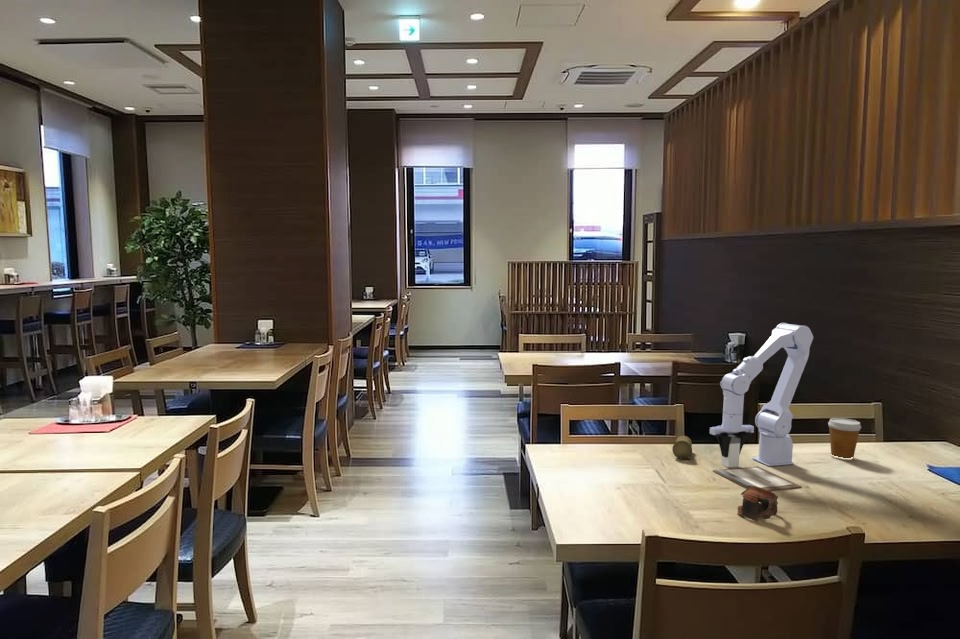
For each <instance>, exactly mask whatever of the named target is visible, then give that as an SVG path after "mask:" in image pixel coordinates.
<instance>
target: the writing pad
mask: <svg viewBox="0 0 960 639" xmlns="http://www.w3.org/2000/svg"><path fill="white" fill-rule="evenodd" d="M712 472H713V473H715V474H717V475H719V476H721V477H723V479H726V480H728V481H730V482H732V483H734V484H737V485H739V486H741V488H744V489H745V490H747V486H749V485H751V486H756V487H760V488H763V489H766V490H768V491H771V492H772V491H781V490H783V491H784V490H792V489H794V490H795V489H801V488H802V486H801V485H799V484H797V483H795V482H793V481H791V480H788V479H786V478H784V477H782V476H780V475H777V474H775V473H774V472H771V471H768V470H767V469H764V468H762V467H760V466H758V465H757V466H749V467H747V466H746V467H745V466H744V467H732V468H725V469H713V470H712Z"/></svg>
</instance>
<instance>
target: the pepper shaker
mask: <svg viewBox="0 0 960 639" xmlns="http://www.w3.org/2000/svg"><path fill="white" fill-rule="evenodd" d="M692 445H693V443H692V440H691V438H689V436H686V435H680V436H678V437H677V438H676V439H675V443H673V445H672V449H671V450H672V454H673V455H674V456H675V457H676V458H677V459H679V460H687V459H688V458H690V457H691V456H692V454H693V446H692Z"/></svg>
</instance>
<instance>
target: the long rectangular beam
mask: <svg viewBox="0 0 960 639" xmlns="http://www.w3.org/2000/svg"><path fill="white" fill-rule="evenodd" d="M727 435H728V436H730V437H732V439H731V441H730V445H729V452H728V457H723V456H722V455H721V462H720V463H721V465H722V466H725V467H727V468H740V467H739V466H740V455H739V452H740V439H741V438H739V437H737V436H734V435H732V434H727ZM740 453H741V452H740Z"/></svg>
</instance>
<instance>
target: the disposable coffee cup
mask: <svg viewBox="0 0 960 639" xmlns="http://www.w3.org/2000/svg"><path fill="white" fill-rule="evenodd" d="M827 425H828V428H829V441H830V444H829V445H830V455H831V454H832V455H834V456H838V457H843V458H851V457H853V458H854V457H855V454H856V447H857V443H858V439H859V434H860V431H861V429H862V426H861V422H860V421H858V420H856V419H850V418H844V417H832V418H830V419H829V421H828V422H827Z"/></svg>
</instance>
